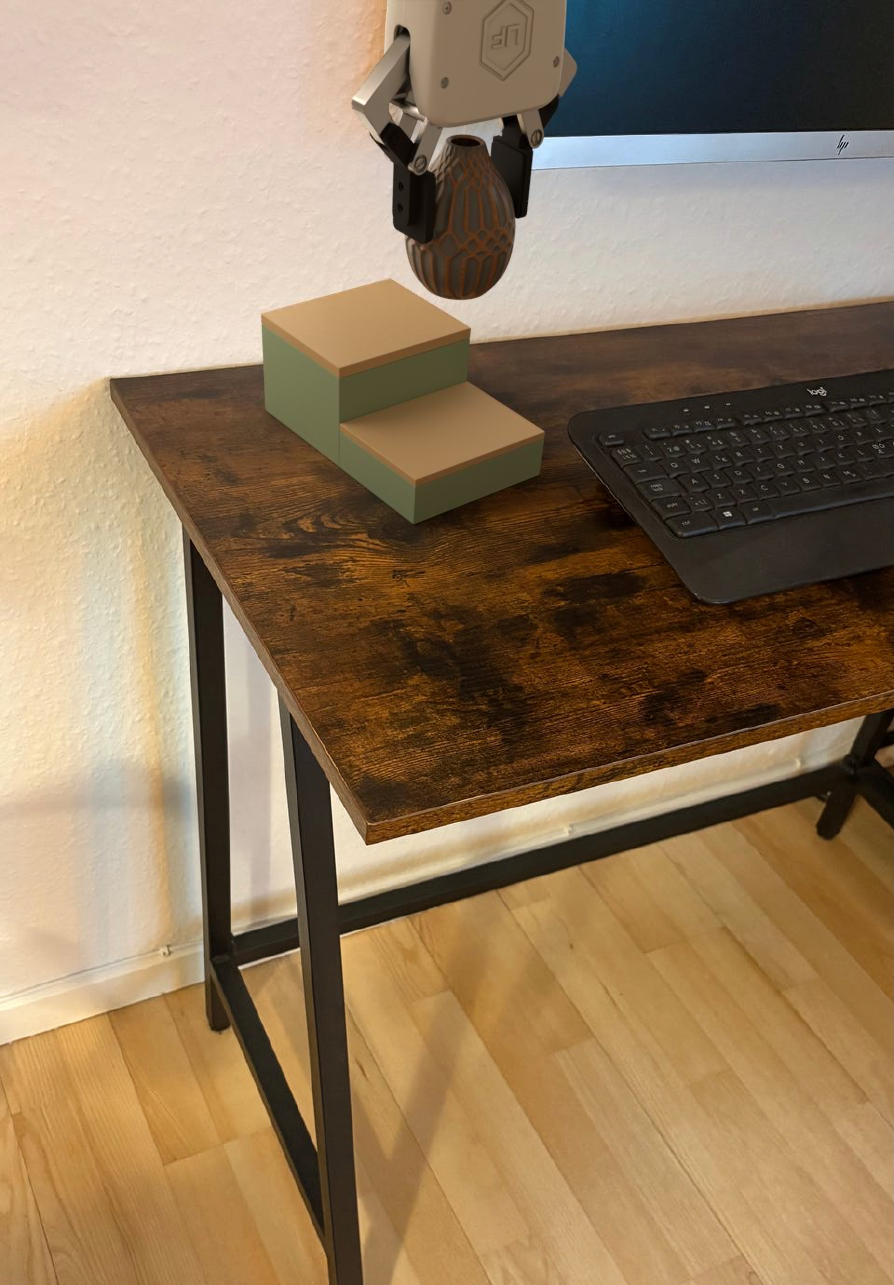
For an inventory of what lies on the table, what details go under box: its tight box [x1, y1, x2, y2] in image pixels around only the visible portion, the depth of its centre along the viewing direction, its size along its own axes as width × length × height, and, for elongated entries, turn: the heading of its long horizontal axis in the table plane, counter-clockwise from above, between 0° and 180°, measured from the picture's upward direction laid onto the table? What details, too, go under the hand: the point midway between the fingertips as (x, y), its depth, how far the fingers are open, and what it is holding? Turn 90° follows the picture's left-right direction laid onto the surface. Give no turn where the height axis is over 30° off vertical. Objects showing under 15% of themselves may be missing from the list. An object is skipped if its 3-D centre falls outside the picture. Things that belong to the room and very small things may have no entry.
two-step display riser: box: [260, 278, 546, 525], centre depth 91 cm, size 19×12×8 cm, turn 39°
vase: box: [404, 133, 517, 301], centre depth 76 cm, size 7×7×9 cm
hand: (460, 221), depth 76 cm, fingers closed on vase, 6 cm apart
